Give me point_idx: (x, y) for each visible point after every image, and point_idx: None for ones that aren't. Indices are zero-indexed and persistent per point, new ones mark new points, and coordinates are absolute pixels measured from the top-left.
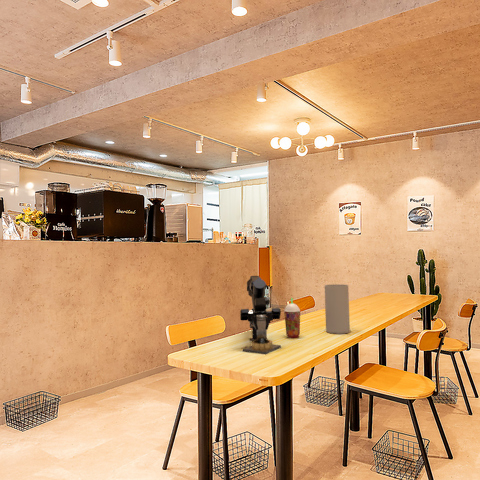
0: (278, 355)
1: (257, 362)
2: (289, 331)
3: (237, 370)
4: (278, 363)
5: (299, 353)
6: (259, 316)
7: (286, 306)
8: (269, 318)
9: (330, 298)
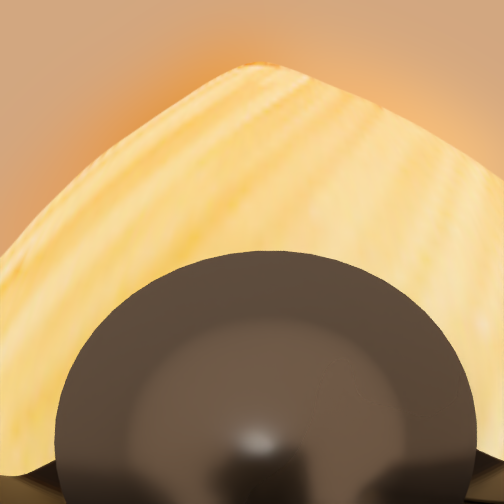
0: (175, 250)
1: (298, 154)
2: None
3: (358, 101)
4: (209, 139)
5: (63, 276)
6: (341, 280)
7: None
8: (49, 469)
9: None
